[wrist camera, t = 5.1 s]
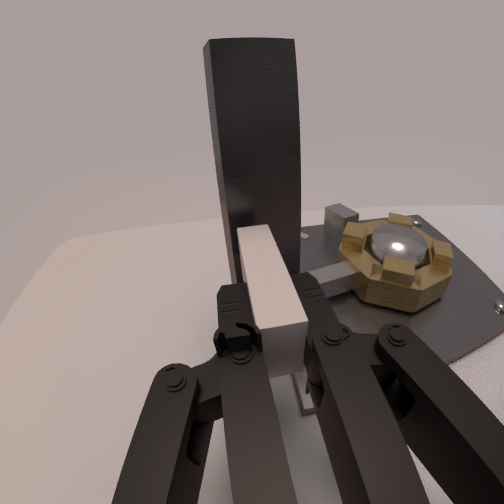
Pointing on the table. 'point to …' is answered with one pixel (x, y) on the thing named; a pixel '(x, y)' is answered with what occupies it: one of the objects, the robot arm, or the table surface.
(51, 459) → the table surface
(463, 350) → the flange
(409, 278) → the grey and tan piece
